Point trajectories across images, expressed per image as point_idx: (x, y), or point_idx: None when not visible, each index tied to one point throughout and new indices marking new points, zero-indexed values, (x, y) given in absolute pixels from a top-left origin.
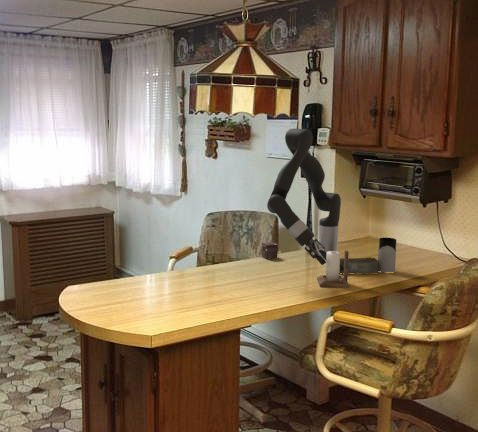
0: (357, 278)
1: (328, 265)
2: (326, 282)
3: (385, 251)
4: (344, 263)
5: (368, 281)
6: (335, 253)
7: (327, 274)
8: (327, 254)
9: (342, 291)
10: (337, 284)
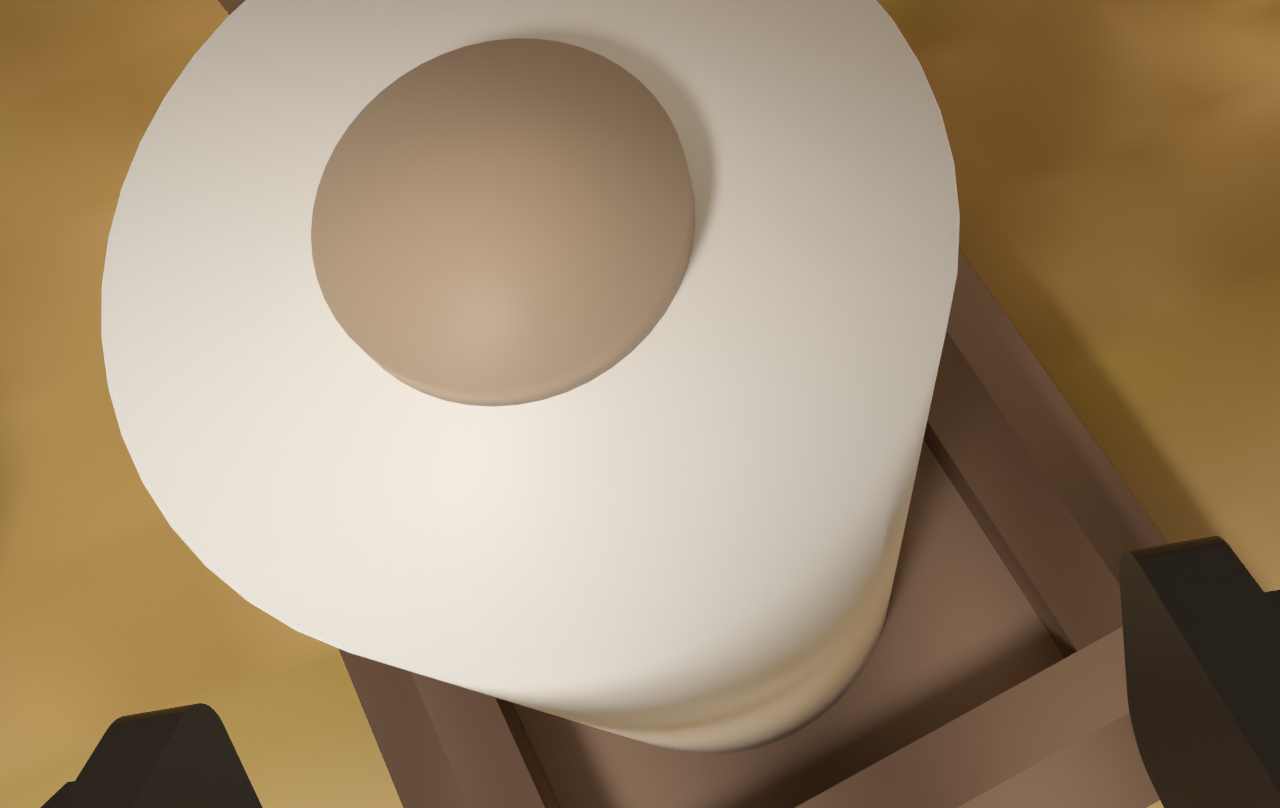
0: (63, 267)
1: (902, 534)
2: (1107, 587)
3: None
4: None
5: (198, 21)
6: (637, 45)
7: (870, 634)
8: (878, 495)
9: (1242, 129)
10: (998, 320)
